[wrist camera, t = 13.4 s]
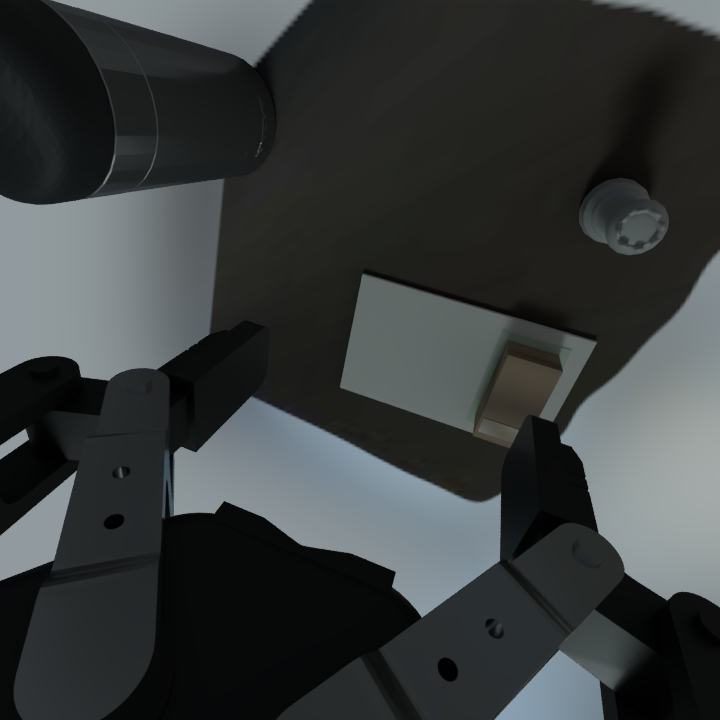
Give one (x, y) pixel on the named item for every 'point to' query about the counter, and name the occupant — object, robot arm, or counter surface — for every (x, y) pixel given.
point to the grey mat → (442, 352)
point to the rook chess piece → (623, 216)
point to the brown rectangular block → (516, 392)
